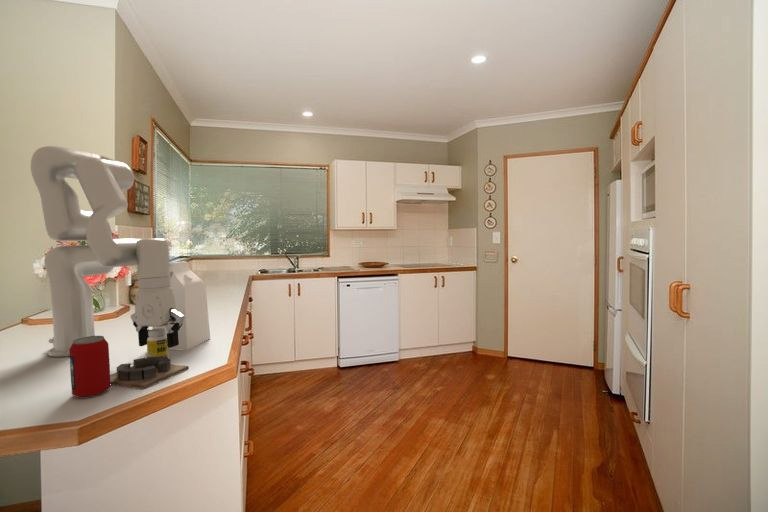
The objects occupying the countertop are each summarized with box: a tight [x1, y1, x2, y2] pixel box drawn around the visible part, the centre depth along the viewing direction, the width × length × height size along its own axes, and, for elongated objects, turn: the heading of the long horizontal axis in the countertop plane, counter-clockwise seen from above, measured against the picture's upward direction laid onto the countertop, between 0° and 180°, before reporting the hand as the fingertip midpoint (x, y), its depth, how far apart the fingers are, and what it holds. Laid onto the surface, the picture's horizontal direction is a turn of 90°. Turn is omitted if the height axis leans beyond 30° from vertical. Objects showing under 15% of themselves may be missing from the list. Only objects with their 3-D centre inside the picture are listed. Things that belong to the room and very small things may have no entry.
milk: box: [152, 261, 211, 350], centre depth 121 cm, size 12×12×26 cm
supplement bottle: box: [146, 328, 169, 358], centre depth 105 cm, size 5×5×8 cm
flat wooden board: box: [110, 356, 190, 389], centre depth 93 cm, size 14×13×3 cm
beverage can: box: [69, 335, 111, 399], centre depth 83 cm, size 7×7×12 cm
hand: (158, 345), depth 105 cm, fingers open, 9 cm apart
